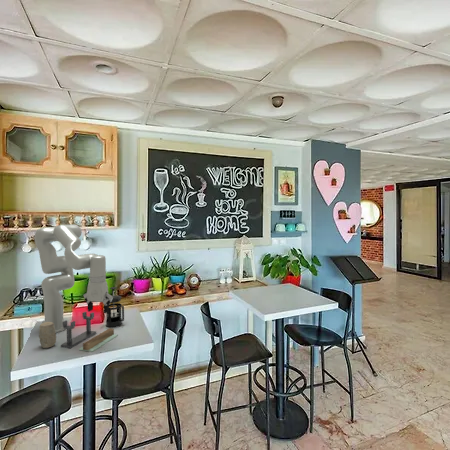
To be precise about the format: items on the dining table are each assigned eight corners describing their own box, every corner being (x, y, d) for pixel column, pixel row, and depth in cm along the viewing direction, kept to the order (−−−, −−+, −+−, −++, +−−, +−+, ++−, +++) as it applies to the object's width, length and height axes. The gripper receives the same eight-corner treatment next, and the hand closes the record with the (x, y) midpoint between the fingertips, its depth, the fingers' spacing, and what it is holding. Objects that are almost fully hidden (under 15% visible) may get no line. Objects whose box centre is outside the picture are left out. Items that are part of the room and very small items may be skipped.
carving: (42, 344, 152) (41, 321, 152) (58, 343, 154) (57, 320, 153) (37, 350, 146) (36, 326, 145) (54, 348, 148) (53, 324, 147)
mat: (79, 350, 146) (79, 348, 145) (105, 334, 165) (105, 333, 165) (92, 351, 143) (92, 350, 143) (117, 335, 163) (117, 334, 163)
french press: (101, 327, 175) (100, 288, 175) (110, 321, 185) (110, 285, 184) (119, 328, 173) (118, 289, 172) (127, 322, 182) (127, 286, 181)
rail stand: (60, 347, 149) (60, 322, 149) (87, 332, 167) (86, 310, 167) (70, 348, 147) (69, 323, 147) (96, 333, 166) (95, 311, 165)
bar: (83, 349, 145) (83, 343, 145) (109, 333, 164) (109, 328, 164) (88, 350, 144) (88, 344, 144) (113, 334, 163) (113, 328, 163)
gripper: (78, 279, 152) (79, 312, 152) (107, 281, 147) (107, 315, 148) (89, 276, 159) (89, 307, 160) (116, 278, 154) (117, 310, 155)
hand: (98, 311), depth 154 cm, fingers open, 9 cm apart
